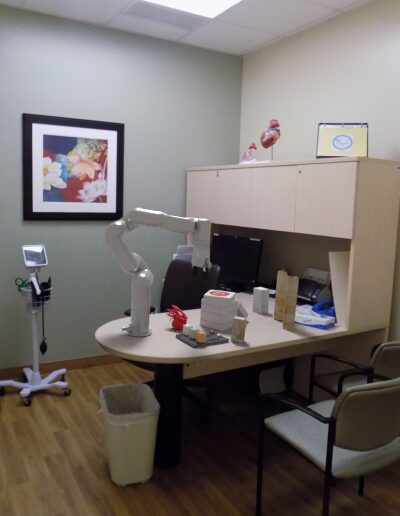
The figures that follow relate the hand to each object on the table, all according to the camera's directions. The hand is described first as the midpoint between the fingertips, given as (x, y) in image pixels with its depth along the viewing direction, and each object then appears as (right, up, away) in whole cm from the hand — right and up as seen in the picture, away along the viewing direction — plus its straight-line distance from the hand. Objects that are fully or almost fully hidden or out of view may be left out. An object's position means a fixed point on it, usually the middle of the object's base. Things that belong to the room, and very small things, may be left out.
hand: (199, 277), depth 238 cm
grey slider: (-3, -30, -1) cm, 30 cm away
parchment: (+49, -29, +39) cm, 69 cm away
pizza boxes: (+13, -28, +34) cm, 45 cm away
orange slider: (0, -31, -6) cm, 32 cm away
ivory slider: (-6, -29, +4) cm, 30 cm away
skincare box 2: (+38, -25, +61) cm, 76 cm away
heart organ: (-12, -29, +17) cm, 36 cm away
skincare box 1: (+19, -33, +4) cm, 38 cm away
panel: (+1, -32, +2) cm, 32 cm away
